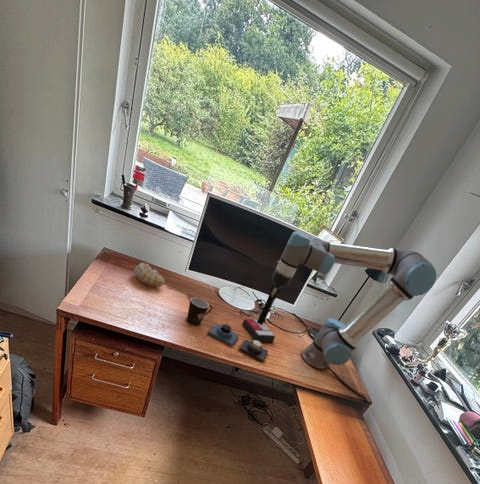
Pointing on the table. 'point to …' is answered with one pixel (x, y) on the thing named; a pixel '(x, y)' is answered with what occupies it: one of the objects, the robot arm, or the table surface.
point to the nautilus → (148, 275)
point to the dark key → (226, 328)
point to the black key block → (253, 351)
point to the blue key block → (223, 335)
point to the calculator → (258, 331)
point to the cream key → (256, 344)
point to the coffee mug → (197, 310)
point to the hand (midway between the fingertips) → (259, 323)
